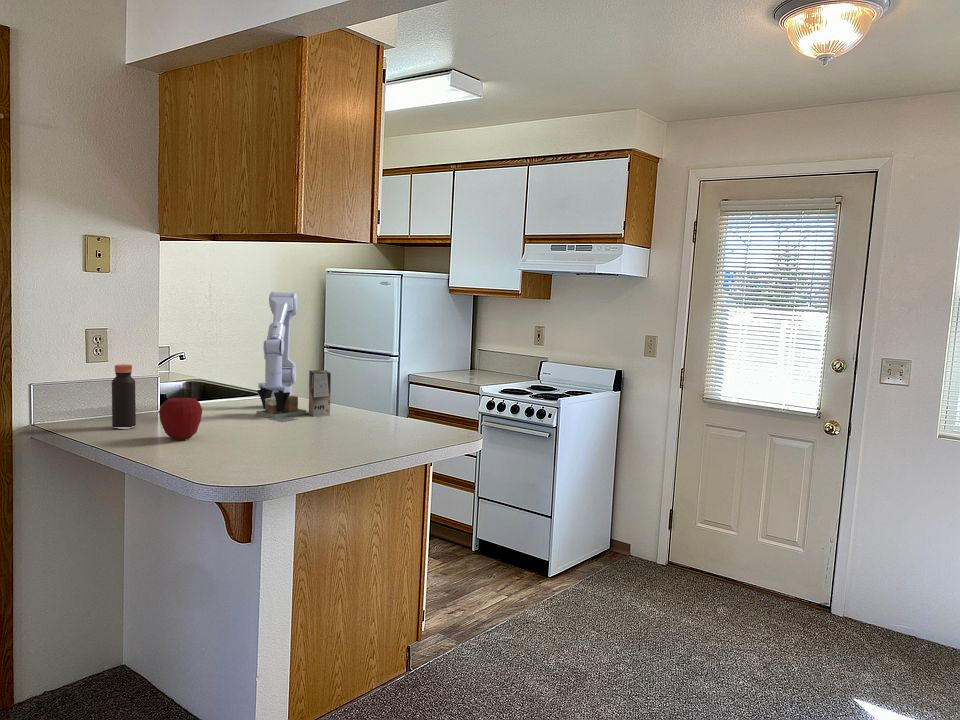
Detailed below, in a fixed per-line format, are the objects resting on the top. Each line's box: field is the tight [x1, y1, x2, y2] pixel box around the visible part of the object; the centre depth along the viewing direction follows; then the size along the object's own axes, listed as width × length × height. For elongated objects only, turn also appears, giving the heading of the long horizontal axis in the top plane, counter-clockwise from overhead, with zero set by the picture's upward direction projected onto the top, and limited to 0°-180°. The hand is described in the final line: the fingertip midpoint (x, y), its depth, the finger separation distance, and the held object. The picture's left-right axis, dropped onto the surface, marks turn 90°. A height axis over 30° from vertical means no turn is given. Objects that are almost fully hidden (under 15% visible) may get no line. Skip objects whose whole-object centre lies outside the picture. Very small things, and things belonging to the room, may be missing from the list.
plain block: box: [282, 395, 299, 413], centre depth 267 cm, size 4×4×6 cm
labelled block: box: [264, 397, 282, 414], centre depth 261 cm, size 4×4×6 cm
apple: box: [158, 395, 203, 441], centre depth 219 cm, size 12×12×13 cm
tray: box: [256, 408, 307, 419], centre depth 265 cm, size 10×14×2 cm
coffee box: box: [308, 369, 332, 417], centre depth 267 cm, size 9×6×16 cm
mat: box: [269, 416, 299, 423], centre depth 254 cm, size 7×7×1 cm
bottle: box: [111, 363, 137, 427], centre depth 232 cm, size 7×7×20 cm
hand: (273, 410), depth 262 cm, fingers open, 7 cm apart
